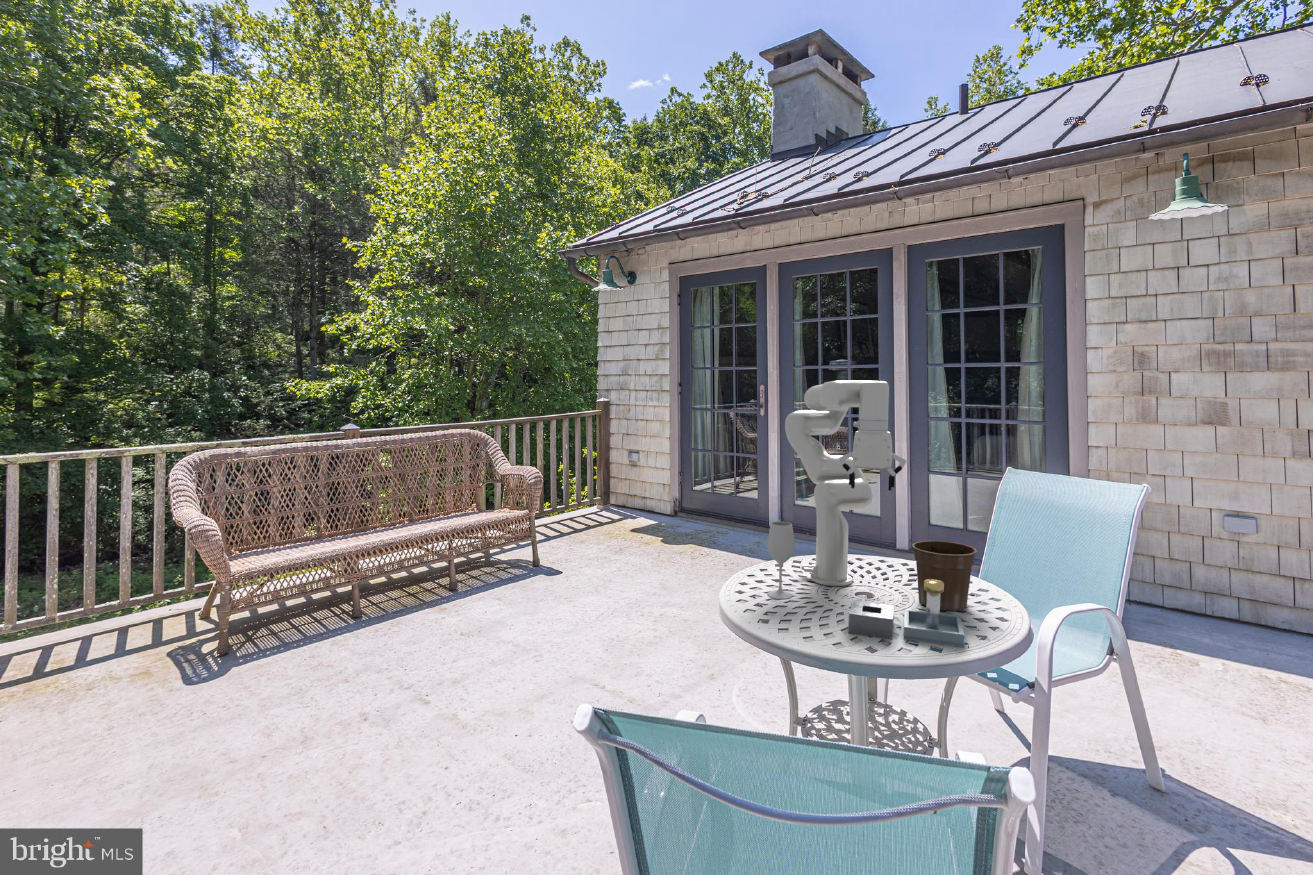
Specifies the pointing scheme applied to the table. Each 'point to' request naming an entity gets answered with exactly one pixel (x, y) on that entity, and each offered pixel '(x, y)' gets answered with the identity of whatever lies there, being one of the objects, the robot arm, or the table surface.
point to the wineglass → (781, 551)
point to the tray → (946, 634)
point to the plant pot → (945, 571)
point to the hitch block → (871, 619)
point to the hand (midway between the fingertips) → (871, 488)
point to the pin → (933, 602)
